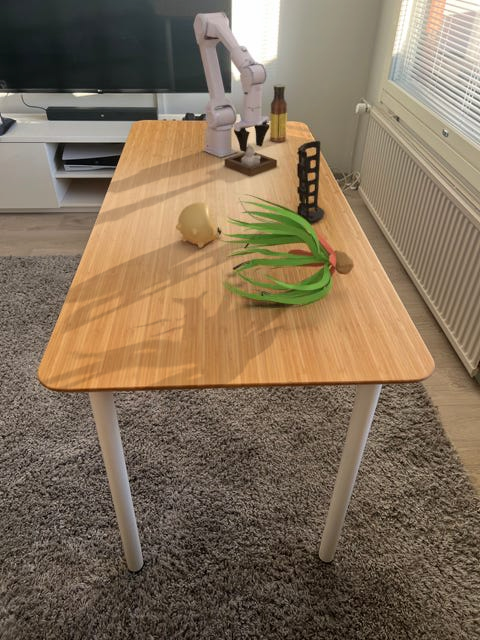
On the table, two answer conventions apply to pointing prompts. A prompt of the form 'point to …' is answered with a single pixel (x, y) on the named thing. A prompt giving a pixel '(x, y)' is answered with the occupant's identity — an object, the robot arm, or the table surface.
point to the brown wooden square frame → (237, 165)
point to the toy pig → (198, 224)
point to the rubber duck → (250, 157)
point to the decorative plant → (289, 256)
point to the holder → (308, 182)
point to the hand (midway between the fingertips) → (251, 148)
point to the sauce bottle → (278, 115)
